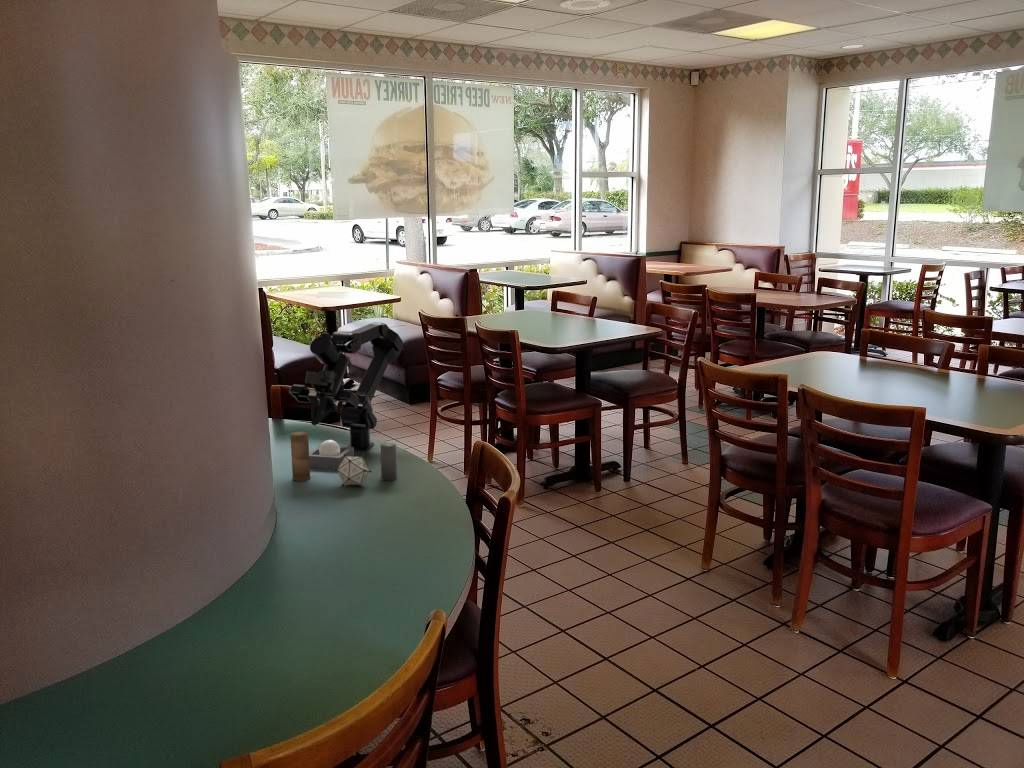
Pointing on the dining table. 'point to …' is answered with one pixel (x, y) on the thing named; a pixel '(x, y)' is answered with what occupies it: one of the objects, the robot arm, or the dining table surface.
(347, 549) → the dining table surface
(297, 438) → the walnut pawn
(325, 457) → the box
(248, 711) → the dining table surface
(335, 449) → the dome
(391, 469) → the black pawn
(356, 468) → the grey faceted polyhedron
